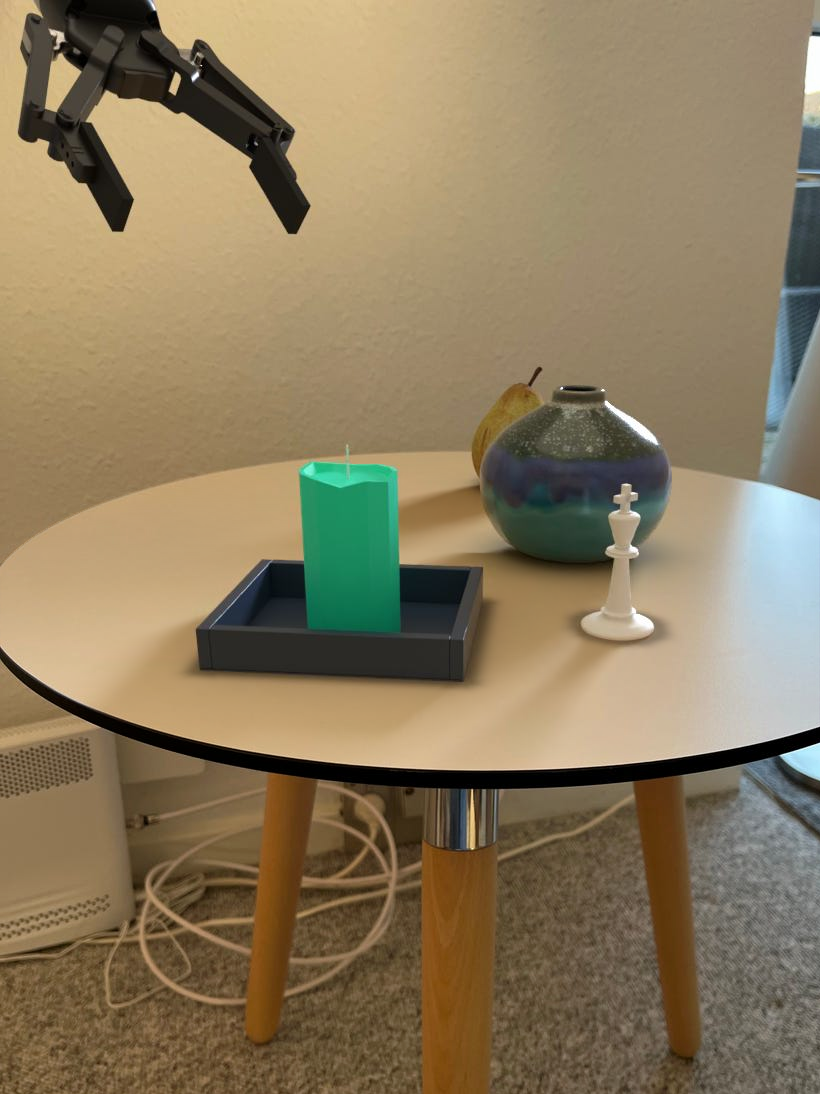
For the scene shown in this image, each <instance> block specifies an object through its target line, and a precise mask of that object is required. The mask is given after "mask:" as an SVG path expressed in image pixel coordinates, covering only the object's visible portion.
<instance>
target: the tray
mask: <svg viewBox="0 0 820 1094" xmlns="http://www.w3.org/2000/svg"><path fill="white" fill-rule="evenodd" d="M399 573H400V626H401V633H400V632H376V631H351V630H327V629H308V626H307V608H306V590H305V573H304V560H296V559H268V558H265V559H264V558H262V559H261V560H260V561H259V562H258V563H257V564H256V565H255V566H254V567H253V568H252V569H251V570H250V571H249V572H248V573H247V574H246V576H244V577H243V578H242V580H241V581H240V582H238V584H237V585H236V586H234V588H233V589H232V590H231V591H230V592H229V593H228V594H227V595H226V596H225V597H224V598H223V599H222V600H221V601H220V603H218V605H217V606H216V607H215V608H214V609H213V610H212V611H211V612H210V613H209V614H208V615H207V616H206V617H205V618H204V619H203V621H201V623H200V624H199V625H198V626H197V627H196V628H195V638H196V647H197V648H196V649H197V657H198V668H199V671H205V672H207V671H208V672H211V671H212V672H226V673H227V672H229V673H230V672H232V673H250V674H251V673H252V674H253V673H254V674H272V675H273V674H277V675H298V676H300V675H301V676H320V677H321V676H322V677H324V676H325V677H342V678H343V677H344V678H347V677H348V678H365V679H388V680H389V679H390V680H411V681H430V682H431V681H432V682H435V681H436V682H455V683H463V682H464V681H465V677H466V673H467V669H468V664H469V660H470V656H471V652H472V648H473V644H474V640H475V636H476V632H477V627H478V624H479V619H480V615H481V611H482V607H483V603H484V567H483V566H468V565H467V566H466V565H465V566H463V565H442V564H441V565H438V564H436V565H435V564H411V563H410V564H409V563H408V564H407V563H399Z"/></svg>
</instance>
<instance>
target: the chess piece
mask: <svg viewBox="0 0 820 1094" xmlns="http://www.w3.org/2000/svg"><path fill="white" fill-rule="evenodd" d="M631 486H632V485H630V484H622V487H621V495H615V496H614V501H613V503H616V504H620V510H618V511H614V512H612V513H610V514H609V516H608V518H609V523H610V526H611V529H612V534H613V538H614V541H615V544H614V545H613V546H609V547H607V549H606V551H605V554H606V555H608V556H610V557H613V558H614V559H613V565H612V571H611V578H610V583H609V588H608V591H607V592H608V593H607V598H606V601H605V605H603V606H602V607H601V608H600V611H595V612H591V613H589V614H587V615H586V616H584V617H583V618H582V620H580V627H581V629H582V630H583V632H585V633H587V634H588V635H590V636H592V637H595V638H599V639H602V640H603V639H604V640H610V641H621V642H622V641H623V642H624V641H626V642H627V641H636V640H641V639H645V638H647V637H649V636H650V635H652V634H653V633H654V631H655V624H654V623H653V622H652V620H651V619H650V618H648V617H646V616H644V615H641V614H639V613H637V609H635V608H634V607H633V606H632V596H631V595H632V594H631V579H630V559H634V558H637V557H638V556H640V553H639V549H638V547H637V548H635V547H632V545H631V544H630V543H631V541H632V539H633V537H634V534H635V531H636V528H637V526H638V524H639V522H640V515H639V514H637V513H636V512H633V511H631V510H630V502H631V501H636V500H638V493H634V492H631Z"/></svg>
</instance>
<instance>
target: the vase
mask: <svg viewBox="0 0 820 1094" xmlns="http://www.w3.org/2000/svg"><path fill="white" fill-rule="evenodd" d="M544 403H545V404H543V405H541V406H539V407H537V408H535V409H533V410H531V411H530V412H528V413H526V414H524V415H523V416H521V417H519V418H518V419H516V420H515V421H513V422H512V423H510V424H509V425H507V426H506V427H505V428H503V429H502V430H501V431H500V432H499V433H498V434H497V435H496V436H495V438H494V439H493V440H492V441H491V443H490V444H489V446H488V448H487V449H486V451H485V454H484V456H483V459H482V463H481V467H480V479H479V481H478V483H479V493H480V498H481V502H482V506H483V509H484V512H485V514H486V516H487V518H488V521H489V523H490V524H491V526H492V527H493V528H494V530H495V531H496V533H497V534H498V535H499V536H500V537H501V539H502V540H503V541H505V543H507V544H508V545H510V546H511V547H512V548H514V549H516V550H518V552H520V553H523V554H525V555H527V556H529V557H532V558H536V559H538V560H544V561H547V562H554V563H564V564H591V563H600V562H606V561H611V560H614V558H613V557H610V556H608V555H606V554H605V551H606V549H607V547H609V546H613V545H614V544H615V541H614V538H613V534H612V529H611V526H610V523H609V518H608V516H609V514H610V513H612V512H614V511H618V510H620V504H616V503H613V501H614V496H615V495H621V487H622V484H630V485H632V486H631V492H634V493H638V500H636V501H631V502H630V510H631V511H633V512H636V513H637V514H639V515H640V522H639V524H638V526H637V528H636V531H635V534H634V537H633V539H632V541H631V543H630V544H631V545H632V547H635V548H637V549H638V548H639V547H640V546H641V545H643V544H644V543H645V542H646V541H647V540H648V539H650V537H651V536H652V534H653V533H654V532H655V530H656V529H657V528H658V526H659V525H660V523H661V521H662V519H663V517H664V516H665V514H666V511H667V509H668V505H669V502H670V498H671V492H672V487H673V486H672V485H673V483H672V481H673V480H672V477H673V476H672V475H673V474H672V467H671V461H670V459H669V455H668V453H667V452H666V449H665V447H664V446H663V444H662V443H661V441H660V440H659V438H658V437H657V436H655V434H654V433H653V432H652V431H651V430H649V429H648V428H647V427H646V426H644V425H643V424H642V423H641V422H639V421H638V420H636V419H635V418H634V417H632V416H631V415H629V414H628V413H626V412H624V411H623V410H621V409H619V408H618V407H616V406H614V405H613V404H611V403H610V402H609V401H608V400H607V398H606V390H605V388H603V387H599V386H595V385H585V384H583V385H582V384H567V385H558V386H555V387H554V388H553V389H552V394H551V397H550V399H549V400H548V401H546V402H544Z"/></svg>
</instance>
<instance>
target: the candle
mask: <svg viewBox="0 0 820 1094" xmlns="http://www.w3.org/2000/svg"><path fill="white" fill-rule="evenodd" d="M345 451H346V452H345V457H346V463H345V462H330V461H329V462H328V461H325V462H323V461H309V462H307V463H306V464H305V465H303V466H301V467H300V468H299V469H298V480H299V481H298V482H299V497H300V498H299V499H300V516H301V533H302V534H301V535H302V552H303V553H302V555H303V561H304V573H305V590H306V608H307V626H308V629H327V630H351V631H376V632H400V633H401V626H400V573H399V564H400V530H399V529H400V528H399V527H400V526H399V484H398V483H399V481H398V480H399V479H398V478H399V476H398V474H399V471H398V470H397V469H396V468H395V467H394V466H390V465H386V464H381V463H350V455H349V454H350V453H349V452H350V450H349V444H346V445H345Z"/></svg>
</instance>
